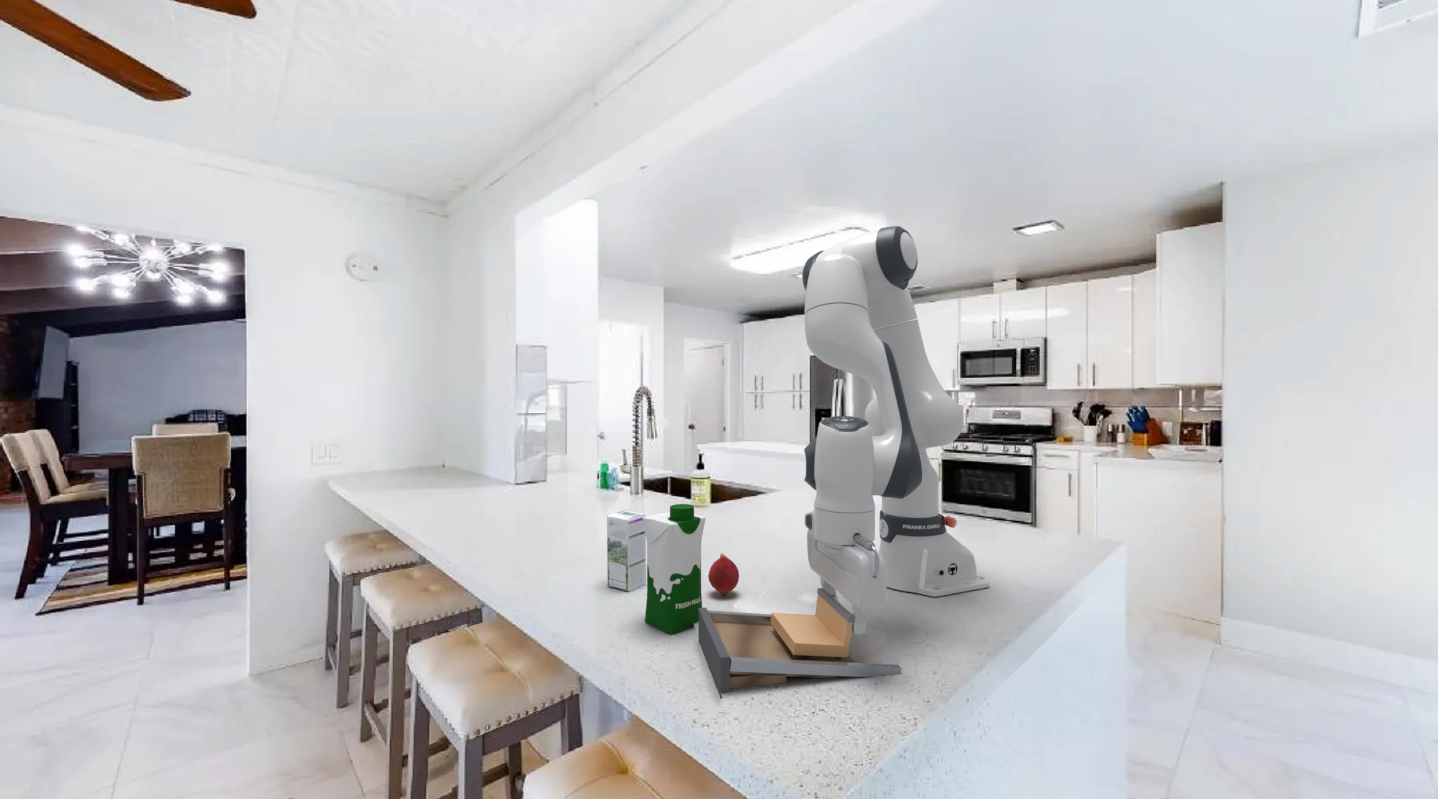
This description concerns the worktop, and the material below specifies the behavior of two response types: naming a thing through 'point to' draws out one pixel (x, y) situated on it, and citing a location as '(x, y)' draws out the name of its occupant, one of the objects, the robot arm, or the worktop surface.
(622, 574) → the syrup box
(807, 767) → the worktop surface
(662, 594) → the milk carton
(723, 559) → the onion
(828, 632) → the cart
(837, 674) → the dock
